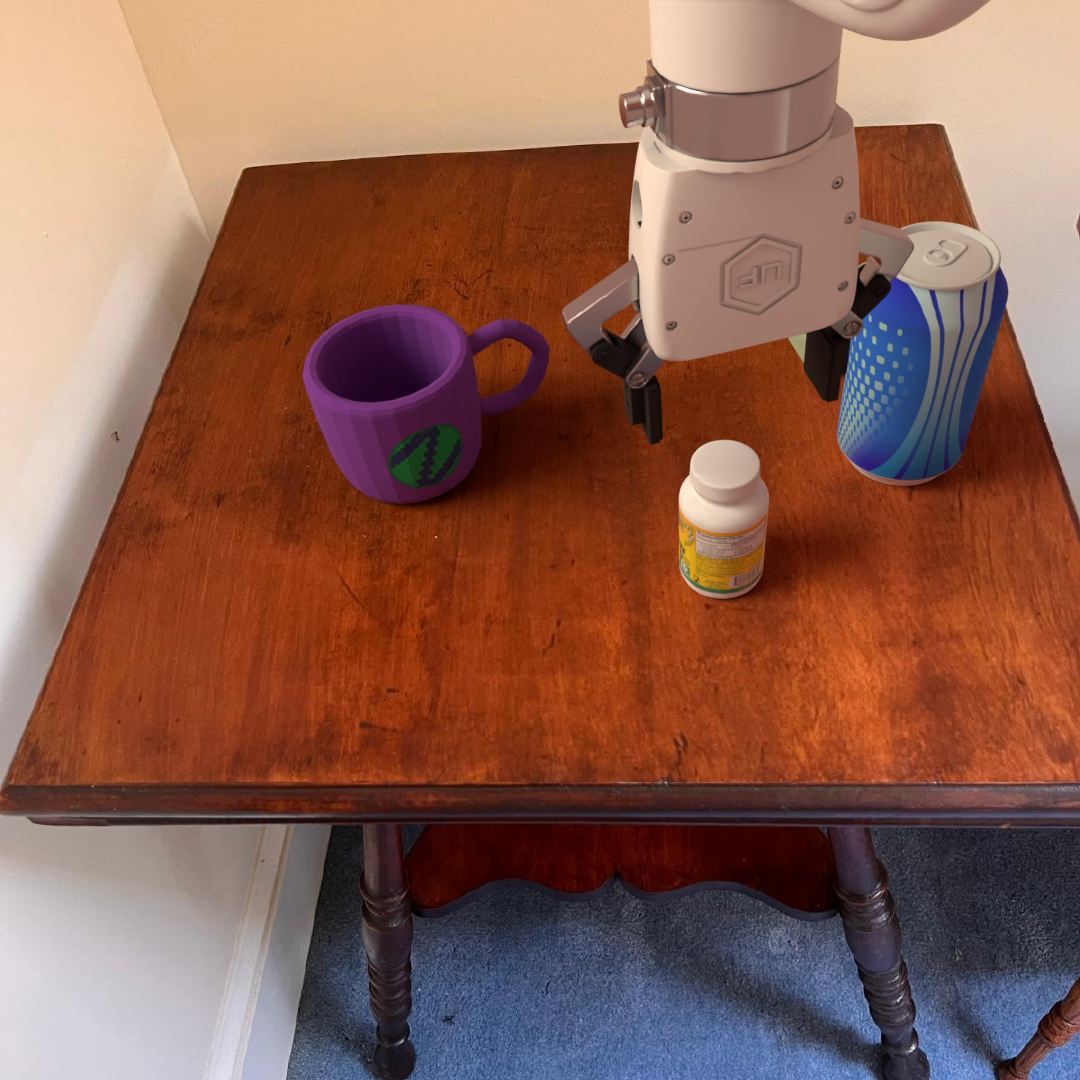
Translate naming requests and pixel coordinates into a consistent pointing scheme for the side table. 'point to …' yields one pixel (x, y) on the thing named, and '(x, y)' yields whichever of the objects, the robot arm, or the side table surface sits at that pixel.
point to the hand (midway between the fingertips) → (734, 406)
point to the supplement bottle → (723, 520)
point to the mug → (409, 397)
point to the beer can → (923, 357)
